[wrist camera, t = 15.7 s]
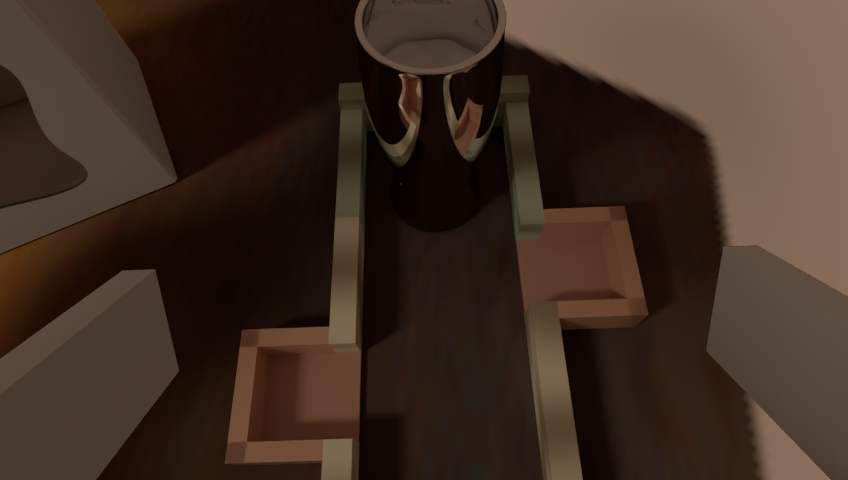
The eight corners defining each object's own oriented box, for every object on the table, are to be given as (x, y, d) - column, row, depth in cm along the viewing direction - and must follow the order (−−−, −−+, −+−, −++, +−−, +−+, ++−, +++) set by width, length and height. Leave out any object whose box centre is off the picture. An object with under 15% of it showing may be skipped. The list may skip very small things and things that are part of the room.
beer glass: (433, 135, 38) (427, -60, 24) (506, 191, 36) (544, 10, 22) (364, 196, 36) (316, 19, 22) (437, 259, 34) (432, 105, 20)
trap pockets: (659, 452, 28) (678, 449, 26) (242, 465, 29) (224, 463, 26) (612, 224, 34) (624, 205, 32) (268, 238, 35) (255, 220, 32)
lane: (589, 609, 25) (610, 627, 22) (324, 616, 25) (308, 635, 22) (520, 108, 39) (527, 74, 35) (347, 116, 39) (339, 83, 36)
